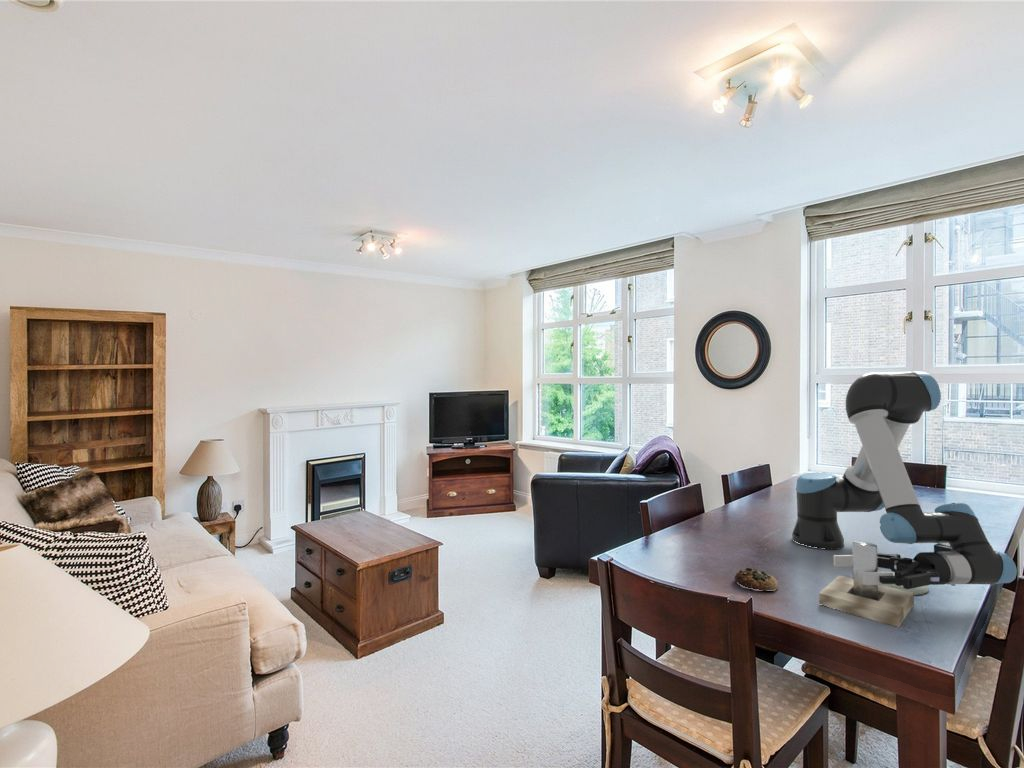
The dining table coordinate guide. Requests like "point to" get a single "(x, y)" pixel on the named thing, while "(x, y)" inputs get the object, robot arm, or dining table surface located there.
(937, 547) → the watch
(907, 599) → the holder block
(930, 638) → the dining table surface
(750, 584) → the bread roll
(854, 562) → the canister
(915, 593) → the coaster
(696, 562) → the dining table surface
